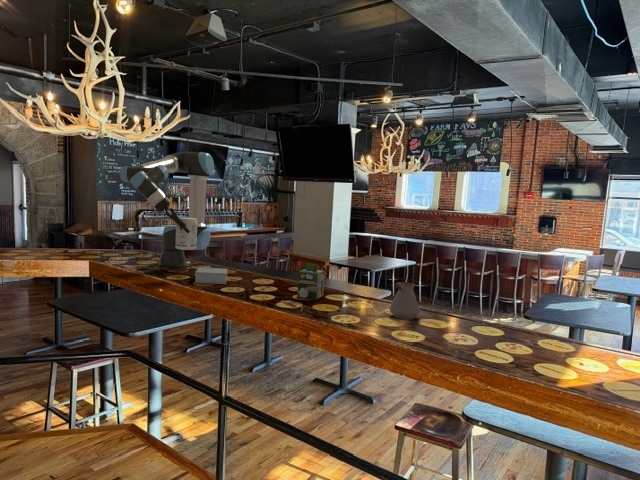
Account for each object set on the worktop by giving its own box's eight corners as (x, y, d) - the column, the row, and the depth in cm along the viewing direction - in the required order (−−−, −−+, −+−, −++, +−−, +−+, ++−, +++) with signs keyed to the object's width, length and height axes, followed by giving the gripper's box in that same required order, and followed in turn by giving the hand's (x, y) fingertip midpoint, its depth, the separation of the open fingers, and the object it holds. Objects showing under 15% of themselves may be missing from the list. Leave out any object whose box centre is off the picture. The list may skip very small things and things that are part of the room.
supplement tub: (191, 247, 215) (193, 218, 214) (199, 250, 208) (201, 219, 207) (171, 247, 209) (173, 217, 208) (179, 250, 202) (181, 218, 201)
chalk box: (323, 296, 193) (325, 263, 192) (316, 300, 184) (319, 265, 183) (303, 294, 196) (306, 261, 195) (296, 297, 187) (298, 263, 186)
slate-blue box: (197, 277, 218) (198, 267, 218) (226, 278, 221) (227, 268, 220) (194, 282, 203) (195, 272, 203) (226, 284, 206) (226, 273, 206)
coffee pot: (393, 311, 173) (397, 274, 172) (422, 316, 168) (426, 278, 167) (375, 322, 154) (378, 280, 153) (407, 328, 149) (411, 285, 148)
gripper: (153, 205, 212) (185, 240, 219) (152, 207, 192) (188, 244, 198) (165, 195, 214) (197, 230, 220) (166, 195, 193) (201, 233, 199)
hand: (193, 236), depth 209 cm, fingers closed on supplement tub, 9 cm apart
